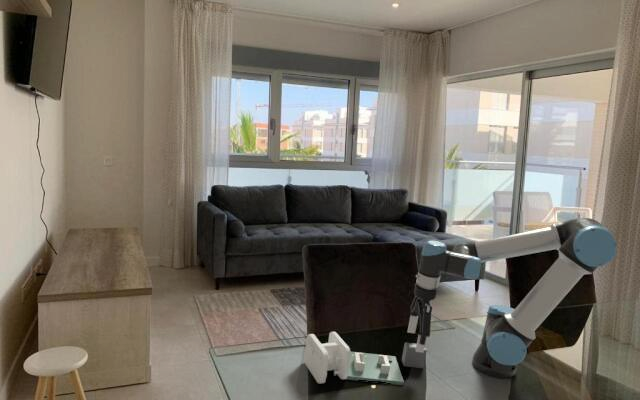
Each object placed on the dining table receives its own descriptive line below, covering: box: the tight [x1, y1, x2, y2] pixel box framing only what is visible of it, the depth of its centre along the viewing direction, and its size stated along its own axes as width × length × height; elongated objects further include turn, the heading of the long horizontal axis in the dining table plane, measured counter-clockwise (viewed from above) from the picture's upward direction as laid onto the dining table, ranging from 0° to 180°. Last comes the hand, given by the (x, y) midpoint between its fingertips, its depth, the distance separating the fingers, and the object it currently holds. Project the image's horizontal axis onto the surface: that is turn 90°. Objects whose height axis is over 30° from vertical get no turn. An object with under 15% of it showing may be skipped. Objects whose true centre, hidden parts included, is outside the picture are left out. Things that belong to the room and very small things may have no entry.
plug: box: [401, 342, 428, 369], centre depth 173 cm, size 7×4×8 cm, turn 92°
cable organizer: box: [303, 331, 352, 384], centre depth 160 cm, size 15×11×12 cm
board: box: [346, 351, 405, 386], centre depth 167 cm, size 20×16×4 cm
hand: (415, 341), depth 173 cm, fingers open, 13 cm apart
